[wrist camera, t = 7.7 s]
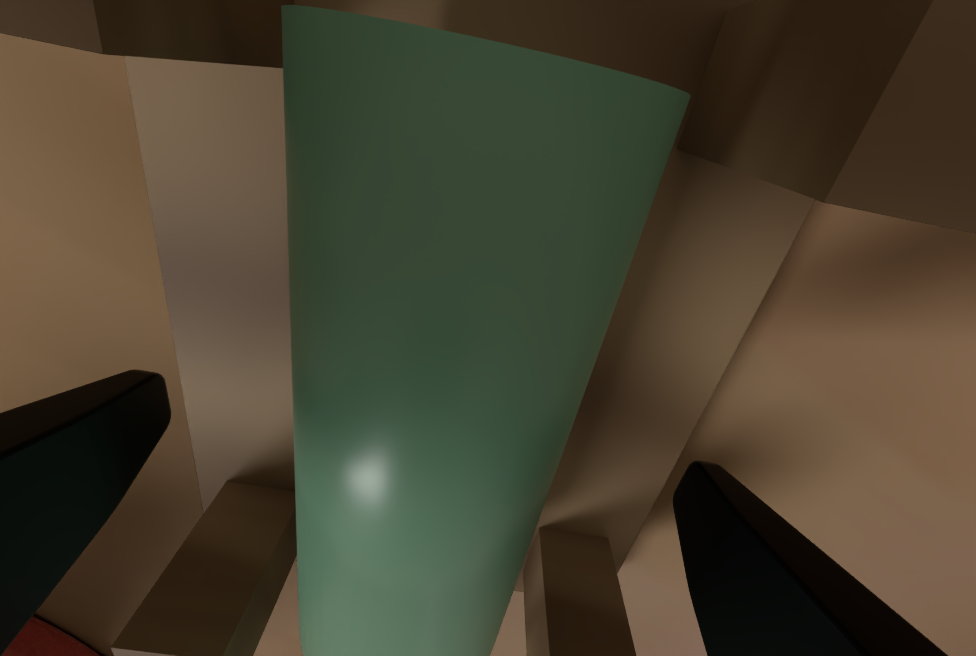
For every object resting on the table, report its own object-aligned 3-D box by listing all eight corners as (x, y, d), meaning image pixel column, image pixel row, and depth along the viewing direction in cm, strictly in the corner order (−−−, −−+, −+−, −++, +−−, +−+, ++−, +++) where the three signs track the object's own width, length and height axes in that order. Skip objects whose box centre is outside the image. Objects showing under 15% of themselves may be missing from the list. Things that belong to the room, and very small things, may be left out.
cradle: (595, 572, 15) (635, 775, 11) (227, 519, 14) (104, 715, 10) (885, -17, 7) (1456, -169, 3) (129, -200, 7) (-625, -781, 2)
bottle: (343, 31, 7) (177, -29, 3) (619, 92, 7) (787, 107, 4) (327, 627, 15) (277, 824, 11) (462, 635, 15) (459, 825, 11)
